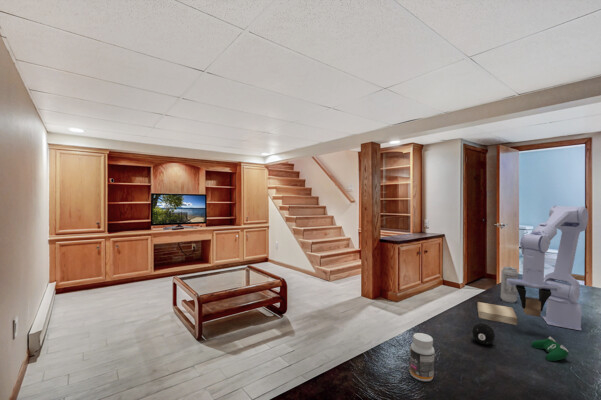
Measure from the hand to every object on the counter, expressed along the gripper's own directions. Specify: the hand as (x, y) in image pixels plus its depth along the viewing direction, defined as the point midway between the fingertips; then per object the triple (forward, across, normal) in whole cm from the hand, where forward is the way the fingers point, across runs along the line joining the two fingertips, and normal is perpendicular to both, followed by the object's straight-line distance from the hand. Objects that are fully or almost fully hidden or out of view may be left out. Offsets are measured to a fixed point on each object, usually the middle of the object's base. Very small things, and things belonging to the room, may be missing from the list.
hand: (531, 308), depth 102 cm
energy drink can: (+9, -2, +36) cm, 37 cm away
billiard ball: (+9, -15, -17) cm, 24 cm away
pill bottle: (+9, -30, -46) cm, 55 cm away
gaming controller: (+9, +2, -14) cm, 17 cm away
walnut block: (+2, 0, 0) cm, 2 cm away
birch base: (+9, -9, +12) cm, 17 cm away
